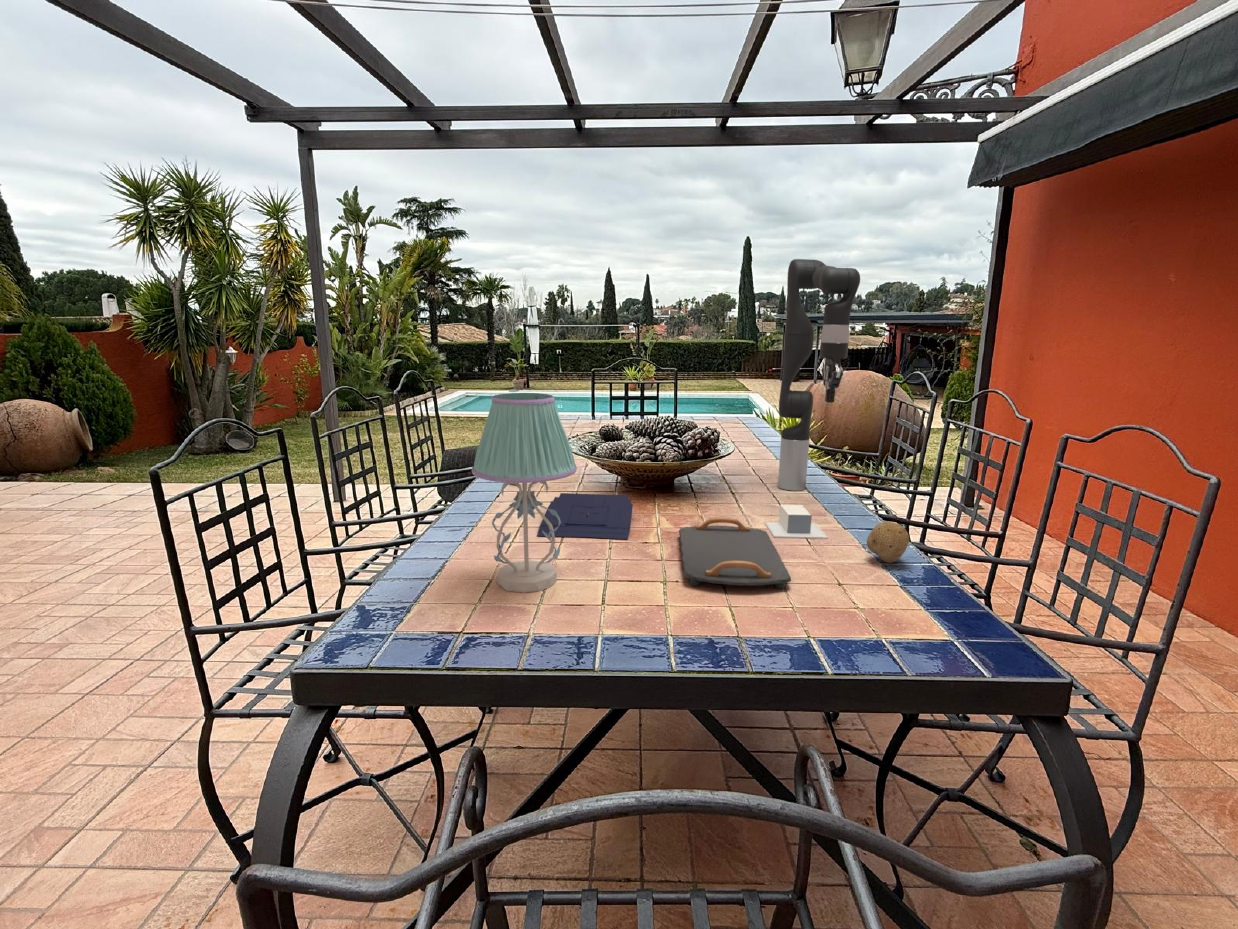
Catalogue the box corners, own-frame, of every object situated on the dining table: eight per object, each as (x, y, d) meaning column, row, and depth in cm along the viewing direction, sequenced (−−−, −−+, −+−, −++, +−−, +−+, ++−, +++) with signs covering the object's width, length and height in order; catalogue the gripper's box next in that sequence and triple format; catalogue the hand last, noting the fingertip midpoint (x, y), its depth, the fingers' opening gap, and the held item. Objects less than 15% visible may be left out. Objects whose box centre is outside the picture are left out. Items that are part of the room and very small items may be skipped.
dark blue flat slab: (634, 503, 194) (634, 492, 193) (628, 548, 166) (628, 536, 165) (554, 501, 196) (554, 490, 195) (536, 545, 168) (535, 533, 167)
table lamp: (569, 559, 152) (568, 390, 143) (584, 597, 131) (584, 402, 122) (475, 565, 147) (469, 391, 138) (475, 606, 126) (468, 403, 118)
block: (780, 504, 180) (789, 515, 170) (801, 505, 180) (811, 515, 170) (779, 521, 181) (787, 533, 171) (800, 522, 181) (810, 533, 171)
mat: (765, 523, 180) (765, 522, 180) (815, 524, 180) (815, 523, 180) (774, 537, 169) (774, 536, 169) (827, 538, 168) (827, 537, 168)
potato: (865, 565, 150) (869, 525, 148) (864, 553, 158) (868, 514, 156) (907, 571, 147) (912, 529, 145) (904, 558, 155) (909, 518, 153)
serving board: (795, 598, 133) (797, 570, 132) (683, 594, 134) (684, 566, 133) (764, 536, 171) (765, 514, 169) (677, 534, 172) (677, 512, 171)
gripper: (815, 340, 188) (810, 399, 192) (828, 341, 175) (822, 404, 179) (840, 340, 188) (835, 399, 192) (855, 342, 175) (849, 405, 179)
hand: (829, 402), depth 185 cm, fingers closed
